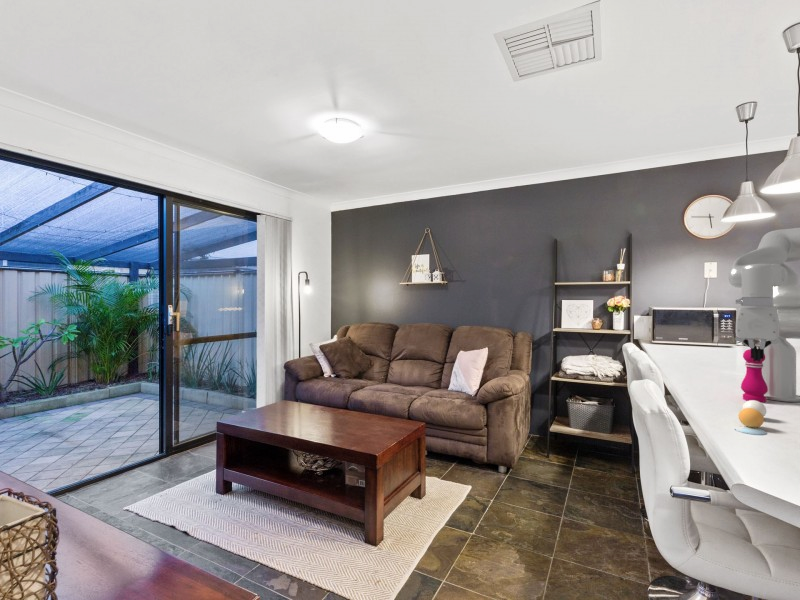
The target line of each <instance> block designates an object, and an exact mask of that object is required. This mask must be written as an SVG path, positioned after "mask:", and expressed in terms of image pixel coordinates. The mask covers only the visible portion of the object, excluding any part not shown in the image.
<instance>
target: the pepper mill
mask: <svg viewBox="0 0 800 600" xmlns="http://www.w3.org/2000/svg"><path fill="white" fill-rule="evenodd" d="M755 346H756V348H757V349H758V345H756V344H755ZM742 358H743V360H744V361H745V362H744V363H745V364H744V366H745V368H746V373H745V375H744V378H743V380H742V381H741V384H740V388H741V391H742V392H743V394H742V400H744V401H746V402H747V401H750V400H755V401H759V402H761V403H766V402H767V399H766V397H765V396H764V394H766V393H767V391H768V388H767V384H766V382H765V381H764V379H763V376H762V367H763V363H762V362H763V361H764V360H765V354H764V359H761V361H760V362H758V361H753V358H751V348H749V349H747V350H745V351H744V352H743V354H742Z"/></svg>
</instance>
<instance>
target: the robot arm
mask: <svg viewBox="0 0 800 600" xmlns="http://www.w3.org/2000/svg"><path fill="white" fill-rule="evenodd" d="M787 262H788V263H790V262H800V227H793V228H784V229H776V230H772V231H769V232H767V233H765V234H764V235H763V236H762V238H761V240H760V242H759V244H758V247H757V249H754V250H751V251H749V252H747V253H744V254H743V255H741V256H739V257H737V258H736V259H735V260H734V261H733V263H732V265H731V267H730V269H729V273H728V281H729V283H730V284H731V286H732V287H735V288H741V297H740V298H739V299H735V304H736V305H737V304H739V305H740V306H741V307H738V308H737V312H736V321H735V338H734V340H735V341H736V342H739V343H743V344H745V345H746V346H748V348H749V349H751V358H753V361H758V362H760V361H761V359H764V354H765V360H764V361H763V362H762V363H763V367H762V376H763V379H764V381H765V382H766V384H767V388H768V391H767V393H766V394H764V396H765V397H766V400H769V401H770V400H772V401H777V402H788V403H789V402H790V403H793V402H794V403H796V402H797V403H799V402H800V395H798V394H797V351H796V349H795V347H794V346H793V345H792V344H791V343H790V342H789V341H788V340H787V339H794V340H795V339H796V340H800V285H799V274H798V273H797V272H796V271H795V270H794V269H793V268H792V267H790V266H789V265H786V264H785V263H787ZM755 340H759V346H757V345H756V343H755ZM755 345H756V346H757V348H756V346H755Z"/></svg>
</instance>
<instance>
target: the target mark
mask: <svg viewBox="0 0 800 600" xmlns="http://www.w3.org/2000/svg"><path fill="white" fill-rule="evenodd" d="M743 426H744V428H742V430H738V431H737V432H739V431H741V432H740V433H743V432H744V433H743V434H747V433H748V434H749V435H756V436H763V435H766V434H767V432H766V431H765V430H763V429H761V428H759V427H757V428H751V427H747V426H745V425H743ZM736 430H737V429H736ZM736 430H735V431H736Z"/></svg>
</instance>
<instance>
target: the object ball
mask: <svg viewBox="0 0 800 600" xmlns="http://www.w3.org/2000/svg"><path fill="white" fill-rule="evenodd" d="M738 420H739V422H740V423H741V424H742V426H747V427H751V428H759V427H761V426H762V425H763V424H764V421H765V416H764V417H763V415H762V414H761V413H760V412H759V411H758V410H756V409H753V408H745V409H743V408H742V409H741V410H740V411H739V412H738Z"/></svg>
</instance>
